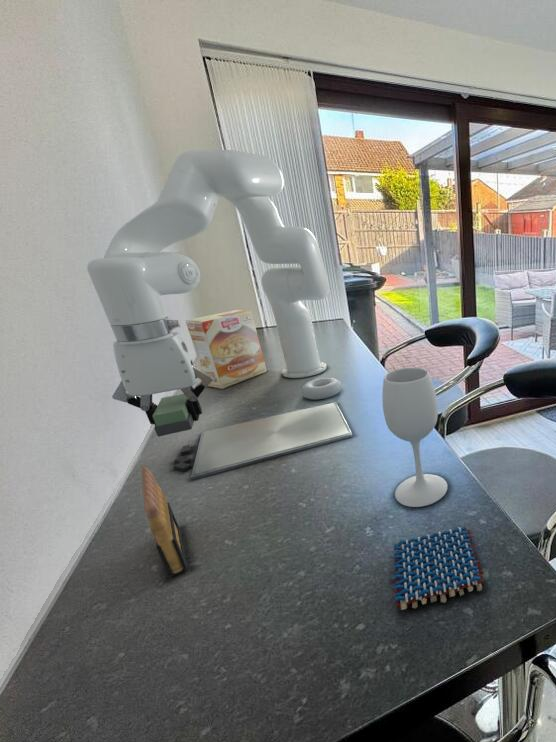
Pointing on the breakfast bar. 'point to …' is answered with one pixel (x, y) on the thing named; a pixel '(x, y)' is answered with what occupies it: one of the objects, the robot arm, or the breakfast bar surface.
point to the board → (268, 438)
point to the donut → (321, 388)
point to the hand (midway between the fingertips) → (178, 421)
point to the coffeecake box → (227, 347)
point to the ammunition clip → (163, 525)
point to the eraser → (172, 415)
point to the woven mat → (435, 567)
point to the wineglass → (413, 429)
